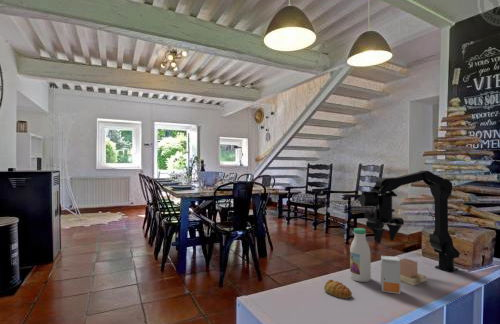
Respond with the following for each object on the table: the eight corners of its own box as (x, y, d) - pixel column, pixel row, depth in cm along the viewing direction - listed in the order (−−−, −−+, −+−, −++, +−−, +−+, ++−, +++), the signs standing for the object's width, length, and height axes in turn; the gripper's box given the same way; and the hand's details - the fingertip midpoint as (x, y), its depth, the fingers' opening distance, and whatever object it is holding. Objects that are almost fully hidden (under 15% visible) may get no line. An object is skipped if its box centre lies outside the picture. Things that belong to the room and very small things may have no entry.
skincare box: (381, 292, 100) (381, 258, 100) (380, 287, 104) (380, 255, 104) (400, 294, 98) (400, 260, 98) (399, 289, 102) (398, 256, 102)
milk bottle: (367, 275, 116) (366, 227, 116) (373, 282, 108) (373, 231, 108) (348, 274, 116) (347, 226, 117) (353, 282, 109) (352, 230, 109)
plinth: (403, 273, 118) (403, 268, 118) (425, 280, 110) (425, 275, 110) (390, 277, 113) (390, 272, 113) (412, 285, 105) (412, 279, 105)
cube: (405, 270, 115) (405, 258, 115) (417, 274, 111) (417, 261, 111) (398, 272, 112) (397, 260, 113) (410, 277, 108) (410, 264, 108)
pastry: (356, 296, 97) (355, 285, 97) (344, 302, 93) (344, 290, 93) (333, 287, 105) (333, 276, 105) (321, 292, 100) (321, 281, 101)
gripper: (381, 203, 134) (382, 235, 134) (355, 205, 125) (355, 240, 124) (404, 205, 124) (404, 240, 124) (377, 209, 115) (378, 246, 115)
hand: (385, 242), depth 122 cm, fingers open, 9 cm apart
